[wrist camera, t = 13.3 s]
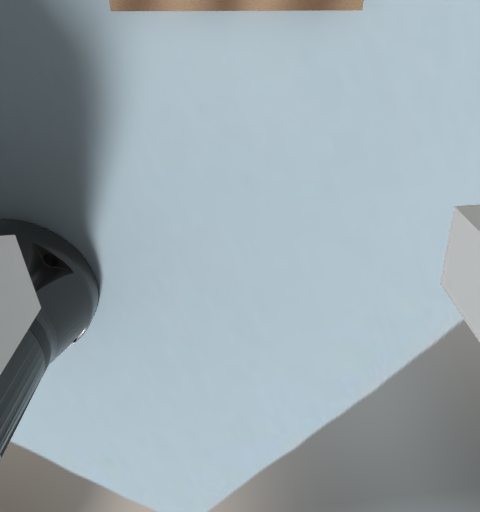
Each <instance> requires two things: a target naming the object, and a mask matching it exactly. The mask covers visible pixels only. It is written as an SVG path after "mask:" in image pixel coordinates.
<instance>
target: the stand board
mask: <svg viewBox="0 0 480 512" xmlns="http://www.w3.org/2000/svg"><path fill="white" fill-rule="evenodd" d="M110 8H111V11H280V10H362V8H363V0H110Z"/></svg>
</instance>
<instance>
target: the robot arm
mask: <svg viewBox="0 0 480 512" xmlns="http://www.w3.org/2000/svg"><path fill="white" fill-rule="evenodd" d="M440 285H441V286H442V288H443V289H444V291H445V292H446V293H447V295H448V296H449V298H450V299H451V301H452V302H453V304H454V305H455V307H456V308H457V310H458V311H459V313H460V314H461V316H462V317H463V318H464V320H465V321H466V323H467V324H468V325H469V327H470V328H471V330H472V331H473V333H474V335H475V336H476V337H477V339H478V340H479V342H480V205H467V206H454V211H453V217H452V222H451V228H450V233H449V239H448V244H447V250H446V255H445V261H444V266H443V272H442V277H441V283H440ZM98 298H99V294H98V286H97V282H96V279H95V276H94V274H93V272H92V270H91V268H90V266H89V264H88V263H87V262H86V260H85V259H84V258H83V256H82V255H81V254H80V253H79V252H78V251H77V250H76V249H75V248H74V247H73V246H72V245H71V244H70V243H68V242H67V241H66V240H64V239H63V238H61V237H60V236H58V235H57V234H55V233H53V232H51V231H49V230H47V229H45V228H42V227H40V226H37V225H34V224H31V223H27V222H22V221H16V220H0V459H1V457H2V455H3V453H4V451H5V449H6V447H7V445H8V443H9V441H10V439H11V437H12V436H13V434H14V432H15V430H16V428H17V426H18V424H19V422H20V420H21V418H22V416H23V414H24V412H25V410H26V408H27V406H28V404H29V402H30V400H31V398H32V396H33V394H34V392H35V390H36V388H37V386H38V384H39V382H40V380H41V378H42V376H43V374H44V372H45V371H46V369H47V367H48V365H49V364H50V363H51V362H52V361H53V360H54V359H55V358H56V357H57V356H59V355H60V354H61V353H62V352H63V351H64V350H65V349H66V348H68V347H70V346H71V345H73V344H74V343H75V342H76V341H78V340H79V339H80V338H81V337H82V335H83V334H84V333H85V331H86V330H87V328H88V327H89V325H90V323H91V321H92V319H93V316H94V314H95V312H96V309H97V306H98Z"/></svg>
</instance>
